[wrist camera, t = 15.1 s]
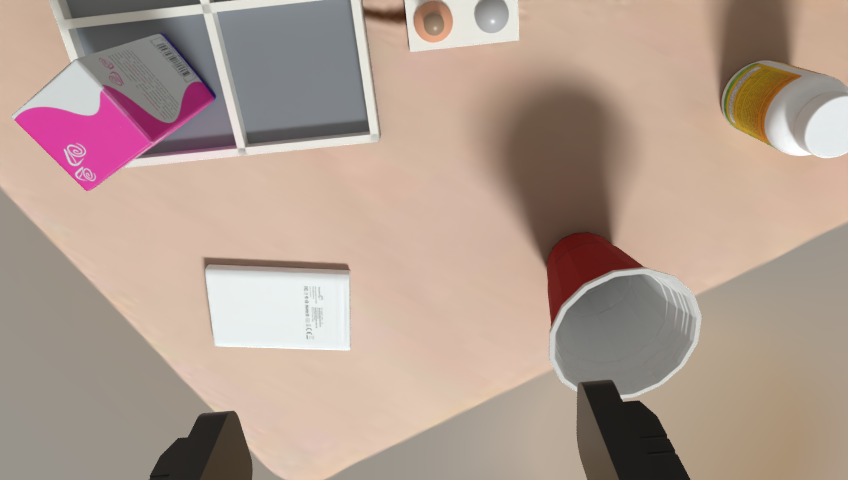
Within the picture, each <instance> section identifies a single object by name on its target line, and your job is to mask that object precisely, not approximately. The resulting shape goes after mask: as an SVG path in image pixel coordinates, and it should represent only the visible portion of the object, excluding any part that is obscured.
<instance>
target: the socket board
mask: <svg viewBox="0 0 848 480" xmlns="http://www.w3.org/2000/svg"><path fill="white" fill-rule="evenodd" d="M49 2H50V5H51V8H52V11H53V13H54V16H55V19H56V22H57V25H58V27H59V30H60V33H61V36H62V39H63V41H64V44H65V47H66V50H67V53H68V55H69V58H70V61H71V62H72V61H73V60H75V59H77V58H80V57H83V56H87V55H90V54H93V53H96V52H100V51H103V50H107V49H110V48H113V47H116V46H120V45H123V44H126V43H129V42H132V41H135V40H139V39H142V38H145V37H149V36H152V35H155V34H159V33H165V35H166V36H167V37H168V38H169V39H170V41H171V42H172V43H173V44H174V45H175V47H176V48H177V49H178V50H179V51H180V53H181V54H182V55H183V56H184V57H185V59H186V60H187V61H188V62H189V63H190V65H191V66H192V67H193V68H194V69H195V71H196V72H197V73H198V74H199V75H200V77H201V78H202V79H203V80H204V81H205V83H206V84H207V85H208V86H209V88H210V89H211V90H212V91H213V93H214V94H215V95H216V99H215V101H213V102H212V103H211V104H210V105H208V106H207V107H206V108H205V109H203V110H202V111H201V112H199V113H198V114H197V115H195V116H194V117H193V118H192V119H190V120H189V121H188V122H186V123H185V124H184V125H182V126H181V127H180V128H178V129H177V130H175V131H174V132H173V133H171V134H170V135H169V136H167V137H166V138H165V139H163V140H162V141H160V142H159V143H157V144H156V145H154V146H153V147H152V148H150V149H149V150H147V151H146V152H145V153H143V154H142V155H140V156H139V157H137V158H136V159H135V160H133V161H132V162H130V163H129V164H128V165H126V166H125V167H123V168H128V167H138V166H147V165H157V164H167V163H177V162H186V161H196V160H206V159H215V158H225V157H235V156H244V155H254V154H264V153H273V152H283V151H293V150H302V149H312V148H322V147H331V146H341V145H351V144H361V143H370V142H379V141H380V137H381V131H380V124H379V116H378V109H377V102H376V95H375V88H374V80H373V73H372V66H371V59H370V51H369V44H368V37H367V30H366V23H365V15H364V8H363V1H362V0H49Z"/></svg>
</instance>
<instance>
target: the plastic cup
mask: <svg viewBox="0 0 848 480" xmlns="http://www.w3.org/2000/svg"><path fill="white" fill-rule="evenodd" d="M547 276H548V298H549V307H550V316H551V329H550V339H549V360H550V361H551V363H552V365H553V367H554V369H555V371H556V373H557V375H558V377H559V379H560V381H562V382H563V383H564V384H566V385H567V386H569V387H570V388H571V389H573V390H574V391H576V392H577V387H578V383H579V382H587V381H599V380H612V381H613V382H614V384H615V386H616V388H617V390H618V392H619V394H620V397H621V399H622V398H631V397H636V396H638V395H640V394H642V393H645V392H647V391H649V390H651V389H654V388H656V387H658V386H660V385H662V384H663V383H664V382H666V381H667V380H668V379H669V378H670V377H671V376H672V375H674V374H675V373H676V372H677V371H678V370H680V369H681V368H682V367H683V366H684V365H685V363H686V361H687V360H688V358H689V356H690V355H691V353H692V351H693V350H694V348H695V346H696V345H697V343H698V338H699V331H700V324H701V318H702V316H701V313H700V310H699V308H698V304H697V302H696V299H695V296H694V293H693V292H692V291H691V290H689V289H688V288H687V287H686V286H685V285H684V284H683V283H681V282H680V281H679V280H678V279H677V278H676V277H675V276H672V275H670V274H666V273H662V272H659V271H655V270H652V269H648V268H645V267H643V266H642V265H641V264H639V263H638V262H637V261H635V260H634V259H633V258H631V257H630V256H629V255H627V254H626V253H625V252H623V251H622V250H620V249H619V248H618V247H616V246H613V245H612V244H611V243H609V242H608V241H607V240H606V239H605V238H603V237H600V236H598V235H595V234H591V233H588V232H586V233H574V234H572V235H570V236H568V237H565V238H563V239H562V240H561V241H560V242H559V243H558V244H556V245H555V246H554V247H553V249H552V251H551V253H550V256H549V258H548V261H547Z"/></svg>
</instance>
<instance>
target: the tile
mask: <svg viewBox="0 0 848 480" xmlns="http://www.w3.org/2000/svg"><path fill="white" fill-rule="evenodd" d="M404 1H405V10H406V19H407V28H408V37H409V46H410V52H416V51H425V50H434V49H443V48H452V47H461V46H471V45H480V44H489V43H498V42H507V41H516V40H519V21H518V0H404Z"/></svg>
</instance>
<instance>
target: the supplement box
mask: <svg viewBox="0 0 848 480" xmlns="http://www.w3.org/2000/svg"><path fill="white" fill-rule="evenodd" d="M215 99H216V95H215V94H214V93H213V91H212V90H211V89H210V88H209V86H208V85H207V84H206V83H205V81H204V80H203V79H202V78H201V77H200V75H199V74H198V73H197V72H196V71H195V69H194V68H193V67H192V66H191V65H190V63H189V62H188V61H187V60H186V59H185V57H184V56H183V55H182V54H181V53H180V51H179V50H178V49H177V48H176V47H175V45H174V44H173V43H172V42H171V41H170V39H169V38H168V37H167V36H166V35H165V33H159V34H155V35H152V36H149V37H145V38H142V39H139V40H135V41H132V42H129V43H126V44H123V45H120V46H116V47H113V48H110V49H107V50H103V51H100V52H96V53H93V54H90V55H87V56H83V57H80V58H77V59H75V60H73V61H72V62H71V63H70V64H69V65H68V66H66V67H65V68H64V69H63V70H62V71H61V72H60V73H59V74H58V75H56V76H55V77H54V78H53V79H52V80H51V81H50V82H49V83H48V84H47V85H45V86H44V87H43V88H42V89H41V90H40V91H39V92H38V93H37V94H35V95H34V96H33V97H32V98H31V99H30V100H29V101H28V102H27V103H26V104H25V105H23V106H22V107H21V108H20V109H19V110H18V111H17V112H15V113H14V114H13V115H12V116H11V117H12V118H13V119H14V120H15V121H16V122H17V123H18V124H19V125H20V126H21V127H22V128H23V129H24V130H25V131H26V132H27V133H28V134H29V135H30V136H31V137H32V138H33V139H34V140H35V141H36V142H37V143H38V144H39V145H40V146H41V147H42V148H43V149H44V150H45V151H46V152H47V153H48V154H49V155H50V156H51V157H52V158H53V159H54V160H56V161H57V162H58V164H59V165H60V166H62V167H63V168H64V169H65V170H66V171H67V172H68V173H69V174H70V175H71V176H72V177H73V178H74V179H75V180H76V181H77V182H78V183H79V184H80V185H81V186H82V187H83V188H84V189H85V190H86V191H89V190H91V189H93V188H95V187H96V186H98V185H99V184H101V183H102V182H103V181H105V180H106V179H108V178H109V177H110V176H112V175H113V174H115V173H116V172H118V171H119V170H121V169H122V168H123V167H125V166H126V165H128V164H129V163H130V162H132V161H133V160H135V159H136V158H137V157H139V156H140V155H142V154H143V153H145V152H146V151H147V150H149V149H150V148H152V147H153V146H154V145H156V144H157V143H159V142H160V141H162V140H163V139H165V138H166V137H167V136H169V135H170V134H171V133H173V132H174V131H175V130H177V129H178V128H180V127H181V126H182V125H184V124H185V123H186V122H188V121H189V120H190V119H192V118H193V117H194V116H195V115H197V114H198V113H199V112H201V111H202V110H203V109H205V108H206V107H207V106H208V105H210V104H211V103H212V102H213V101H215Z"/></svg>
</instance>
